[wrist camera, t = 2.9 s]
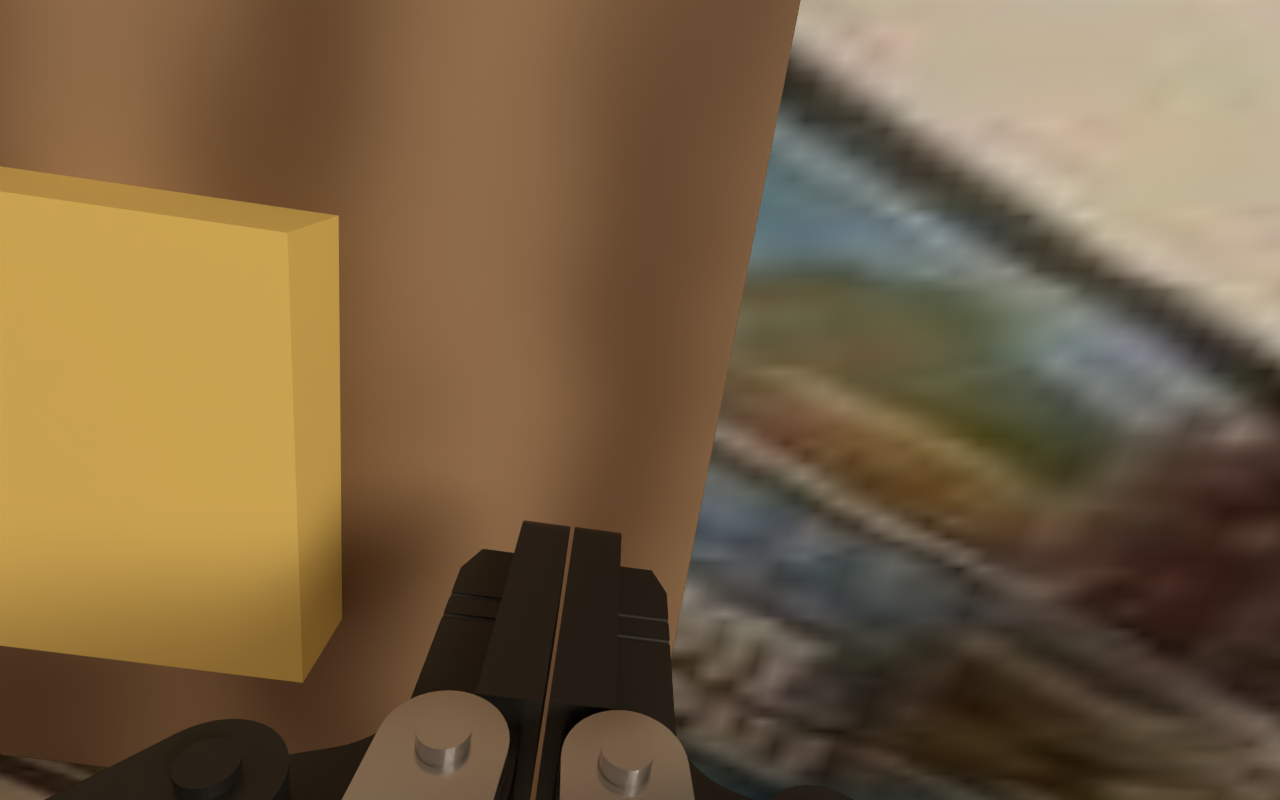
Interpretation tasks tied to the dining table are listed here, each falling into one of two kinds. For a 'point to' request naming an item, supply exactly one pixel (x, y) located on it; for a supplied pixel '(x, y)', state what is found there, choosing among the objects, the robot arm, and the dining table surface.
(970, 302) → the dining table surface
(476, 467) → the deck
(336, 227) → the tile
